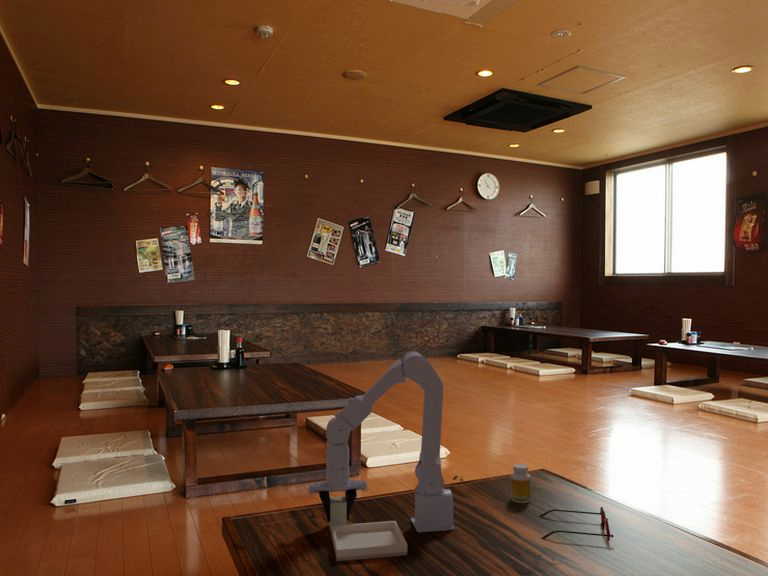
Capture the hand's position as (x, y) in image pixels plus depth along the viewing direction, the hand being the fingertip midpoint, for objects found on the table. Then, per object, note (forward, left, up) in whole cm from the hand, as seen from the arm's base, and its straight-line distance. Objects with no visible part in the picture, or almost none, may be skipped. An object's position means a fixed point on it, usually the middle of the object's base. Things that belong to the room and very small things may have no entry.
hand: (337, 519), depth 146 cm
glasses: (-58, +12, -3) cm, 59 cm away
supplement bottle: (-53, -9, -2) cm, 54 cm away
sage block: (0, 0, -2) cm, 2 cm away
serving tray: (-6, +11, -2) cm, 13 cm away
